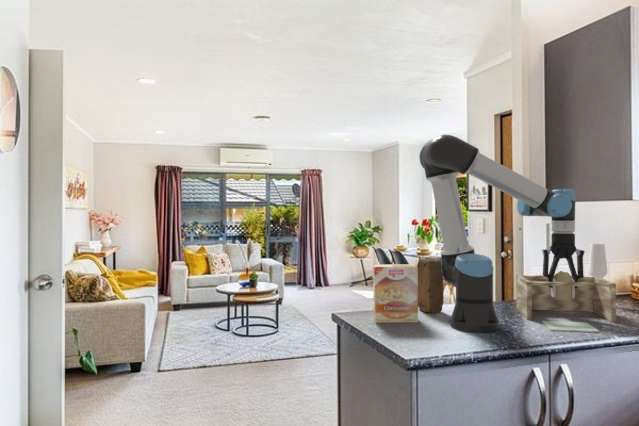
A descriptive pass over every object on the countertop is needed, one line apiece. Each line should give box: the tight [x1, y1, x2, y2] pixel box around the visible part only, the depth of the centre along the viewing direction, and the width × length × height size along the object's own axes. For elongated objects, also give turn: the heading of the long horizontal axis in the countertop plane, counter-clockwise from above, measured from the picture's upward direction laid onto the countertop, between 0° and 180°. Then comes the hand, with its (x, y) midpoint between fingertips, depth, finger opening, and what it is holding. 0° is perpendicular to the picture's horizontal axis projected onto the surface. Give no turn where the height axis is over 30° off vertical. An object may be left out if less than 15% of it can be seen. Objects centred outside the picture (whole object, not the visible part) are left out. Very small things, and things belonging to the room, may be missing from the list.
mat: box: [541, 320, 600, 334], centre depth 154 cm, size 14×11×1 cm
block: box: [416, 257, 444, 314], centre depth 180 cm, size 11×8×20 cm
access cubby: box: [515, 274, 617, 323], centre depth 171 cm, size 28×18×13 cm, turn 78°
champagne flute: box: [587, 243, 609, 279], centre depth 188 cm, size 7×7×24 cm
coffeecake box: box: [372, 263, 419, 324], centre depth 166 cm, size 15×7×20 cm, turn 88°
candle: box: [554, 270, 572, 301], centre depth 170 cm, size 6×6×10 cm
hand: (562, 297), depth 170 cm, fingers closed on candle, 5 cm apart
